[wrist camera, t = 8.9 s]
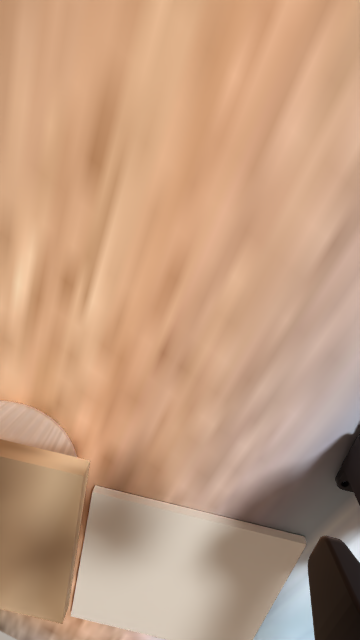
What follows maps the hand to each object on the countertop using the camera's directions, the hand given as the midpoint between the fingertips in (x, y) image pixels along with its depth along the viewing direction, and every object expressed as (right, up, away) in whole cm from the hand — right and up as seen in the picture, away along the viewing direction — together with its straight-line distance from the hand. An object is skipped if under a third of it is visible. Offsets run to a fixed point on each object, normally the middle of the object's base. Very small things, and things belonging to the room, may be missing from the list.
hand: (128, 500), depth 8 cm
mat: (+1, -17, +20) cm, 27 cm away
